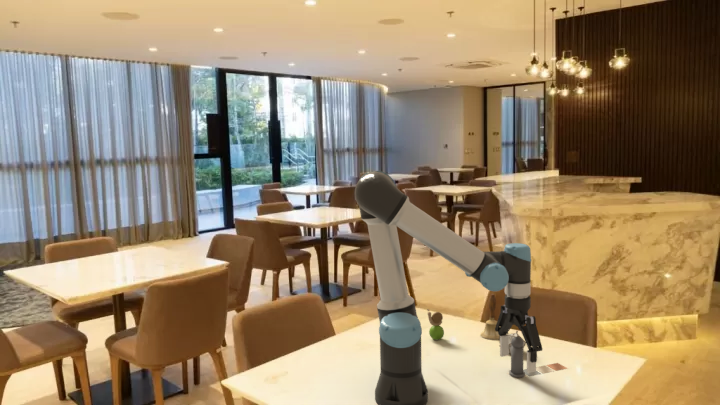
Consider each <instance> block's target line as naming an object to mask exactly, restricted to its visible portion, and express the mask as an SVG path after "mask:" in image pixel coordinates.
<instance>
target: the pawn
mask: <svg viewBox="0 0 720 405" xmlns="http://www.w3.org/2000/svg"><path fill="white" fill-rule="evenodd" d="M520 337H521V336H520ZM520 337H514V338H513V339H512V340H511V344H512V345H511V355H510V370H509V371H508V373H509V375H508V376H509V377H511V378H513V377H514V378H519V379H523V377H524V378H526V377H525V375H526V374H525V372H524V371H523V370H524V349H523V340H524V339H523V337H521V338H520ZM522 339H523V340H522ZM514 378H513V379H514Z"/></svg>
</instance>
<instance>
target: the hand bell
mask: <svg viewBox="0 0 720 405" xmlns="http://www.w3.org/2000/svg"><path fill="white" fill-rule="evenodd" d="M488 306H489V310H490V311H489V319H488V320H486V321H485V326H484V329H483V331H482V332H480V337H482V338H483V339H487V340H492V341H495V340H500V335H499V334H498V331H497V332H496V331H495V327H496V324H497V321H498V320H495V317H496V316H495V311H496V306H497V299H496V296H495V294H494V293H491V294H490V297H489V299H488Z"/></svg>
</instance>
